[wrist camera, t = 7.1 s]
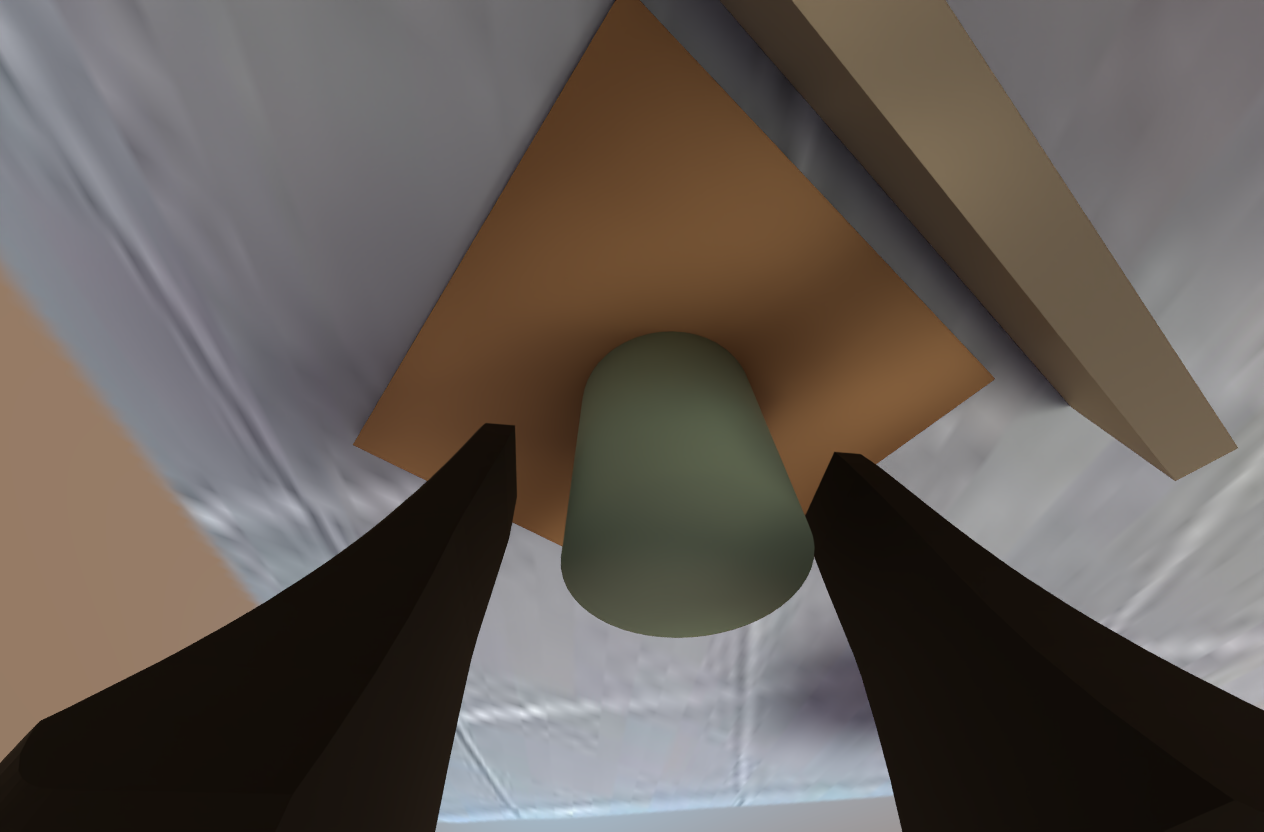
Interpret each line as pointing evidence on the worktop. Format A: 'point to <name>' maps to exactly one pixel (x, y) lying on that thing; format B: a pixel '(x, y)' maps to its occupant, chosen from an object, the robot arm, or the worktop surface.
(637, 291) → the walnut board
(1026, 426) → the worktop surface
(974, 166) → the taupe wall
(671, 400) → the sage green cylinder
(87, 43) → the worktop surface
